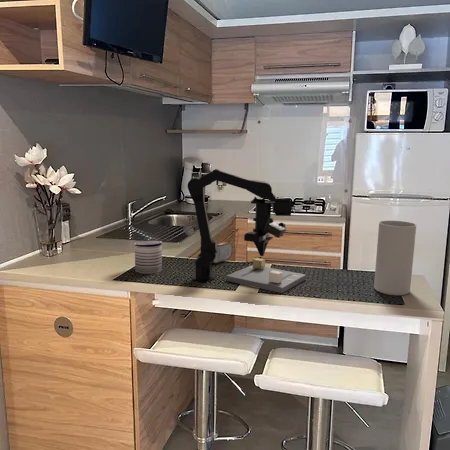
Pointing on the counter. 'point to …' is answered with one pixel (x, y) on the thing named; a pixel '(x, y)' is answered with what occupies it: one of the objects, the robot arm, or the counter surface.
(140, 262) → the can
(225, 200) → the counter surface
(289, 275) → the fader panel
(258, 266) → the brass fader
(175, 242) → the counter surface
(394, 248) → the cylinder vase
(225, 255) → the tin
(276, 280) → the block
